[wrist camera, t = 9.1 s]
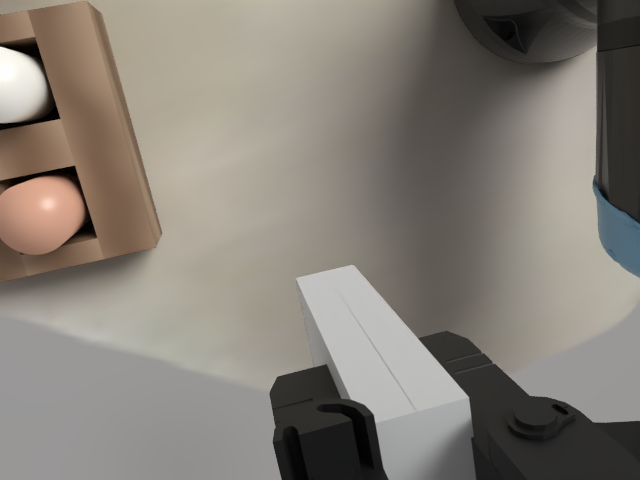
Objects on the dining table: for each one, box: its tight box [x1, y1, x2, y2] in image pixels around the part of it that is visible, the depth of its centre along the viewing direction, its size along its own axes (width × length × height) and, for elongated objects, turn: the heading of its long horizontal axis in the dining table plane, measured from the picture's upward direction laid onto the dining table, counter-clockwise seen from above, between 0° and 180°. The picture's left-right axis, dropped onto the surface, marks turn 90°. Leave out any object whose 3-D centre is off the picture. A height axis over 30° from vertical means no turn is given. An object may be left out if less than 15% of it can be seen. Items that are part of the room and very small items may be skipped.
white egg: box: [0, 47, 56, 123], centre depth 33 cm, size 4×4×6 cm
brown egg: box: [0, 172, 91, 255], centre depth 35 cm, size 4×4×6 cm
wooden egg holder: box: [0, 1, 162, 282], centre depth 36 cm, size 12×16×4 cm
